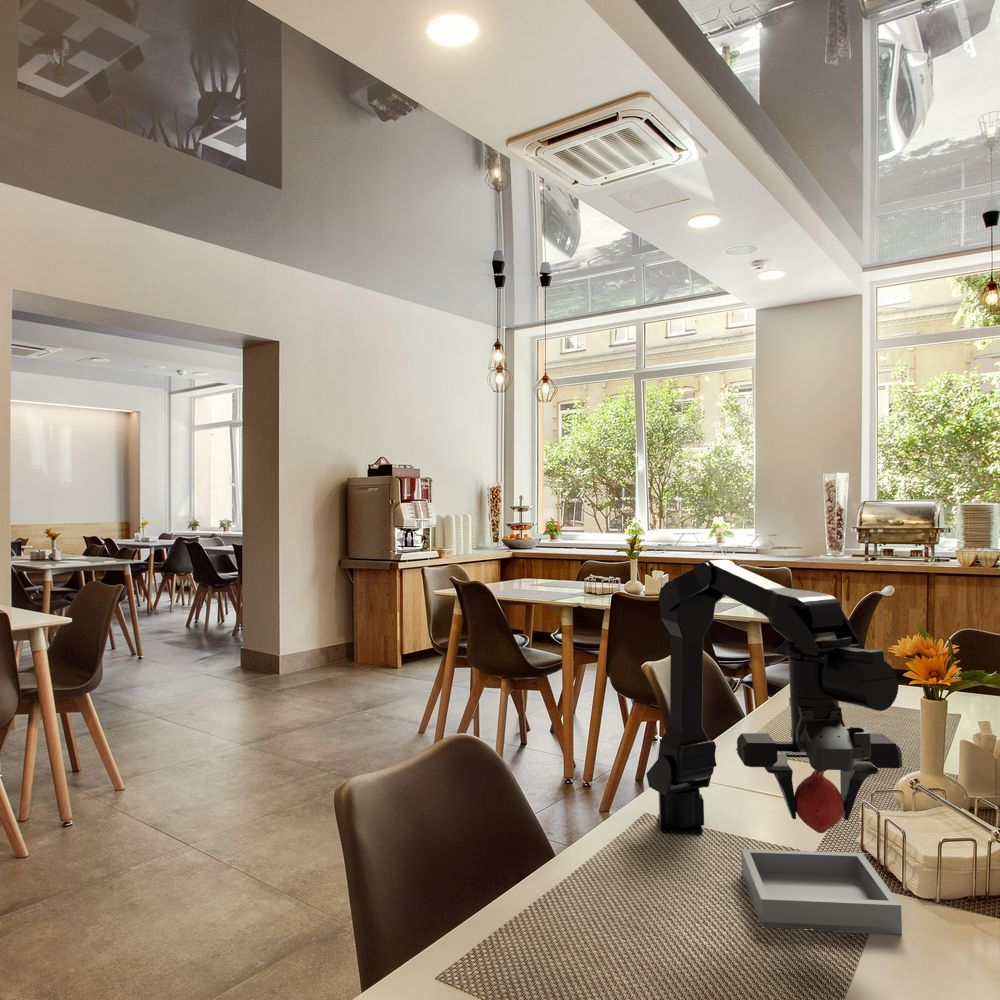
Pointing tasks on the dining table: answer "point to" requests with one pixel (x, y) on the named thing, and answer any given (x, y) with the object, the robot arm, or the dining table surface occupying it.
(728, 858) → the dining table surface
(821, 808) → the onion
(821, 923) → the tray
